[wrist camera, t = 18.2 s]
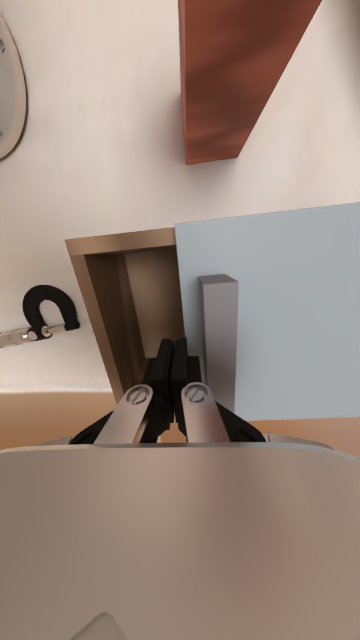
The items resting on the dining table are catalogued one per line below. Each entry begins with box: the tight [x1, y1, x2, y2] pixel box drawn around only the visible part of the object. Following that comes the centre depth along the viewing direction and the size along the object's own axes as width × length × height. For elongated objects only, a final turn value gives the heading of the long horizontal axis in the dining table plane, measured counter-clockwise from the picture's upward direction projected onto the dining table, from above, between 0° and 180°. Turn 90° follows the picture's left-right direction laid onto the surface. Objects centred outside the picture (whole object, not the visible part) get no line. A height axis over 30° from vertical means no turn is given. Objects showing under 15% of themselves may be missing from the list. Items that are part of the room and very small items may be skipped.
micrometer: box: [0, 285, 80, 348], centre depth 23 cm, size 15×7×2 cm, turn 103°
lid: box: [175, 202, 360, 421], centre depth 11 cm, size 17×16×4 cm
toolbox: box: [65, 227, 185, 405], centre depth 17 cm, size 24×16×9 cm, turn 95°
